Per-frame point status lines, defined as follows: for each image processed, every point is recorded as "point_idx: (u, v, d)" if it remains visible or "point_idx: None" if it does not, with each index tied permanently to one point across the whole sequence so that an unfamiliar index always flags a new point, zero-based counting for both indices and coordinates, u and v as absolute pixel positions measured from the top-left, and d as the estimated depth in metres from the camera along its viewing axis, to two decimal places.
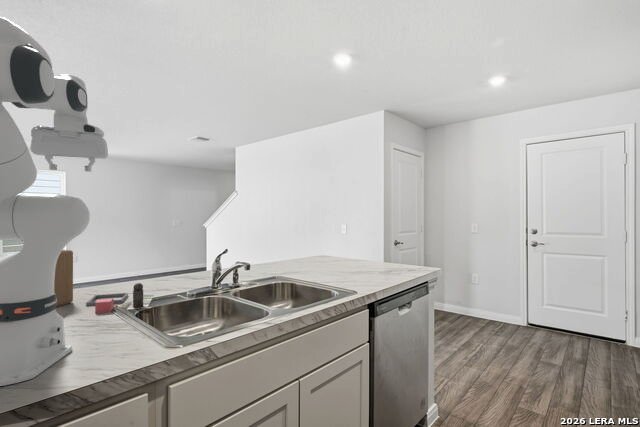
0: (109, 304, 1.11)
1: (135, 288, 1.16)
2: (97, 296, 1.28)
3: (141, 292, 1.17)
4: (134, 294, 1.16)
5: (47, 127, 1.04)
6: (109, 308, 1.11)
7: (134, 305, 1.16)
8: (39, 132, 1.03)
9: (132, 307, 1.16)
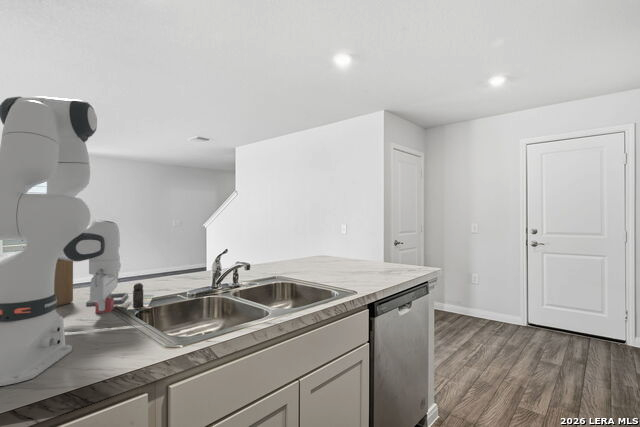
0: (109, 304, 1.11)
1: (135, 288, 1.16)
2: None
3: (141, 292, 1.17)
4: (134, 294, 1.16)
5: (101, 271, 1.07)
6: (109, 308, 1.11)
7: (134, 305, 1.16)
8: (104, 278, 1.06)
9: (132, 307, 1.16)
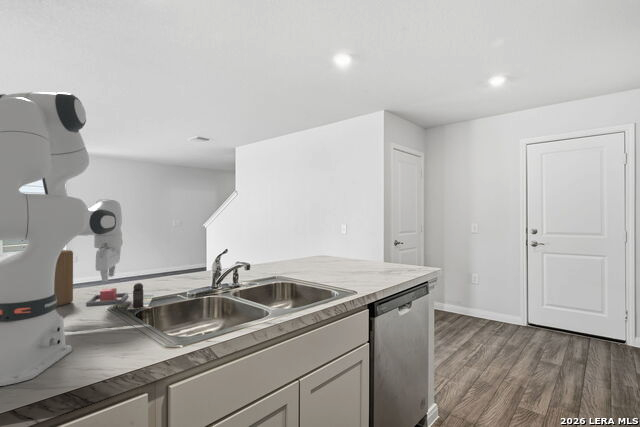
0: (112, 293, 1.24)
1: (135, 288, 1.16)
2: (97, 296, 1.28)
3: (141, 292, 1.17)
4: (134, 294, 1.16)
5: (105, 245, 1.19)
6: (112, 297, 1.24)
7: (134, 305, 1.16)
8: (108, 251, 1.18)
9: (132, 307, 1.16)
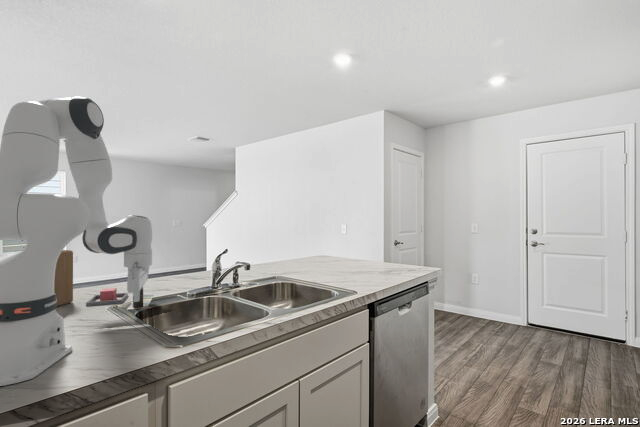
0: (112, 293, 1.24)
1: None
2: (97, 296, 1.28)
3: (141, 292, 1.17)
4: None
5: (136, 264, 1.12)
6: (112, 297, 1.24)
7: (134, 305, 1.16)
8: (140, 271, 1.10)
9: (132, 307, 1.16)
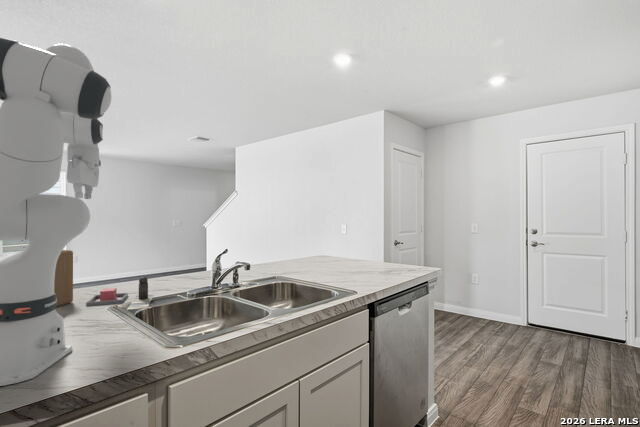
0: (112, 293, 1.24)
1: (140, 281, 1.27)
2: (97, 296, 1.28)
3: (146, 285, 1.28)
4: (140, 287, 1.27)
5: (79, 157, 1.07)
6: (112, 297, 1.24)
7: (140, 297, 1.27)
8: (82, 162, 1.06)
9: (132, 307, 1.16)
